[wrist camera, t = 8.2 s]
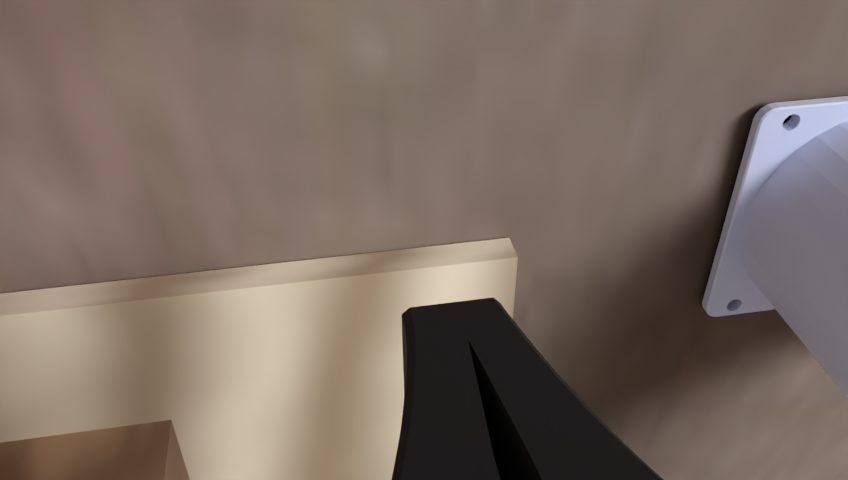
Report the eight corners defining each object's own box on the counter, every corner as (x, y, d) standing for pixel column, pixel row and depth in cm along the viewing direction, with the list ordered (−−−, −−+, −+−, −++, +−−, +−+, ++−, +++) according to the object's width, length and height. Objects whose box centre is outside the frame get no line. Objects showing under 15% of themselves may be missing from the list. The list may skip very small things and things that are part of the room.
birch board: (509, 237, 23) (517, 257, 23) (487, 534, 33) (492, 556, 32) (-365, 334, 20) (-390, 360, 20) (-110, 631, 30) (-120, 657, 29)
